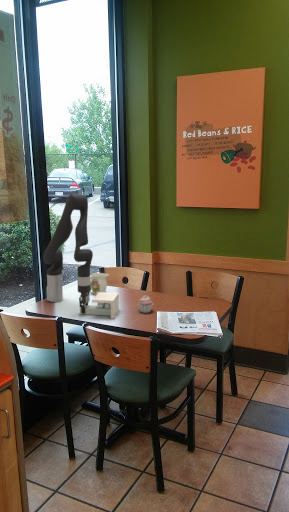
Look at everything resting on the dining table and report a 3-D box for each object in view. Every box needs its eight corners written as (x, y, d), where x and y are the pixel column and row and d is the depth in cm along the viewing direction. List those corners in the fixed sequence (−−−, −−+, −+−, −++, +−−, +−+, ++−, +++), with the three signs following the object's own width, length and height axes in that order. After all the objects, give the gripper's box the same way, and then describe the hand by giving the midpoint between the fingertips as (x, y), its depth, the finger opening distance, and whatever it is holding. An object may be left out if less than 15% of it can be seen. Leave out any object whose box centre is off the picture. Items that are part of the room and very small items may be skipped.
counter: (92, 317, 232) (92, 299, 230) (99, 309, 247) (98, 292, 245) (113, 318, 230) (113, 300, 228) (118, 309, 246) (118, 292, 244)
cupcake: (142, 315, 236) (142, 298, 235) (134, 310, 244) (134, 294, 243) (156, 312, 241) (156, 296, 239) (148, 308, 249) (148, 292, 247)
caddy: (80, 314, 238) (79, 303, 236) (82, 310, 243) (82, 300, 242) (110, 315, 235) (110, 304, 234) (112, 311, 241) (112, 301, 240)
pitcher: (90, 290, 289) (89, 270, 286) (113, 292, 282) (112, 273, 279) (81, 294, 279) (81, 274, 276) (105, 297, 272) (105, 276, 269)
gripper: (81, 280, 244) (82, 307, 248) (74, 286, 230) (75, 315, 234) (93, 280, 243) (94, 308, 247) (87, 287, 229) (87, 316, 233)
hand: (84, 311), depth 240 cm, fingers closed on caddy, 6 cm apart
